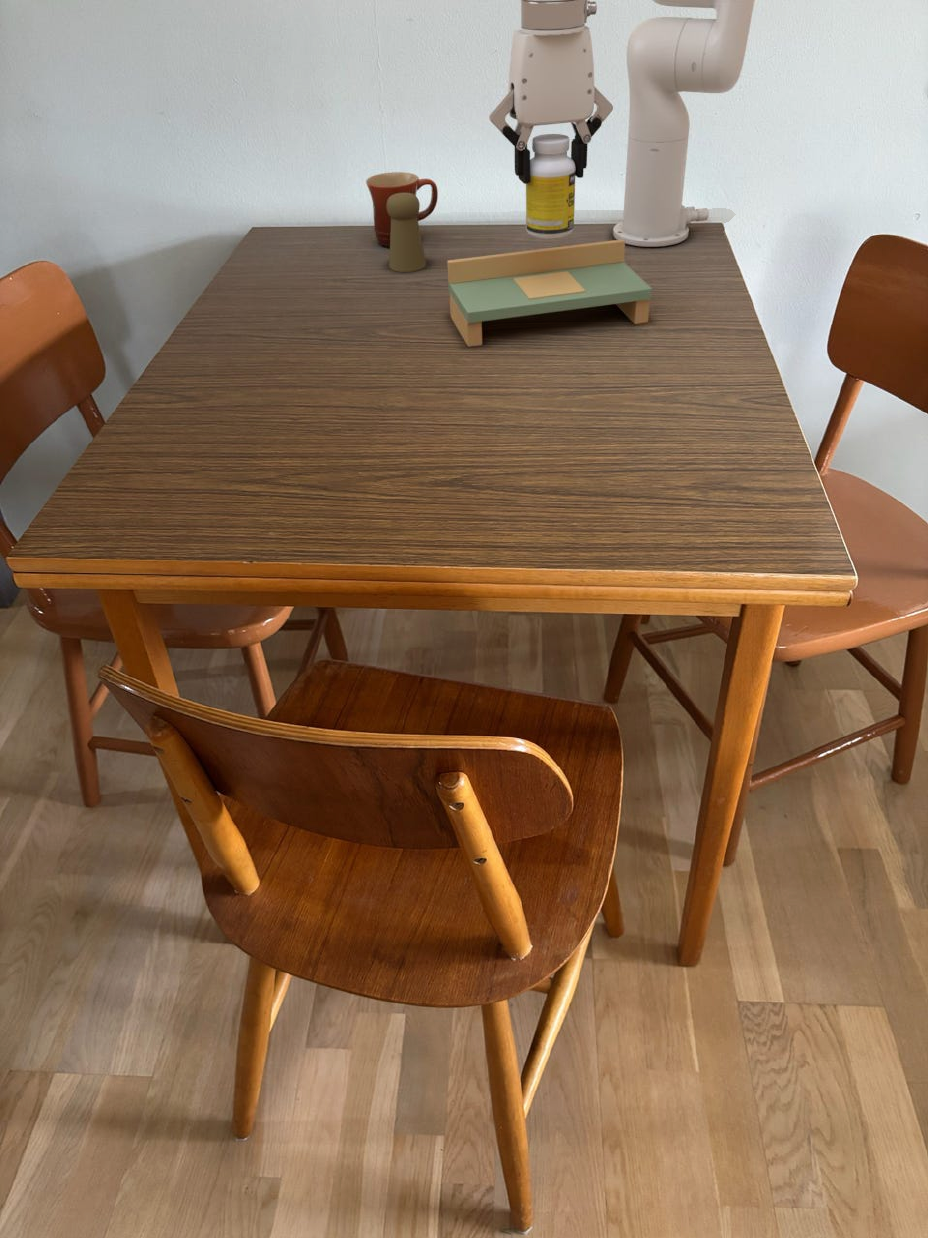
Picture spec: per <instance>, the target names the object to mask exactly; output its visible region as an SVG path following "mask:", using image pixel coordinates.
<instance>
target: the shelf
mask: <svg viewBox="0 0 928 1238" xmlns="http://www.w3.org/2000/svg"><path fill="white" fill-rule="evenodd" d="M625 251H626V244H625V241H624V240H623V239H620V240H617V239H614V240H605V241H597V242H588V243H579V244H572V245H563V246H558V247H557V246H556V247H549V248H538V249H531V250H523V251H514V252H507V253H498V254H490V255H489V254H488V255H482V256H474V257H466V258H457V259H450V260H449V259H448V260H447V261H446V263H447V282H448V284H447V285H448V293H449V309H450V318H451V320H452V321H453V323H454V325H455V328H457V330H458V332H459V334H460V335H461V337H462V339H463V340H464V342H465V344H466V346H467V347H468V348H470V347H478V346H483V327H482V326H483V324H482V323H483V322H488V321H489V322H490V321H497V320H504V319H511V318H519V317H526V316H535V315H541V314H551V313H558V312H565V311H572V310H573V311H574V310H579V309H587V308H595V307H602V306H609V305H616V306H617V308H619V309H620V311H621V312H622V313H623V314H624V315H625V316H626V317H627V318H628V319H629V320H630V321H631V322H632V323H633V324H634V325H640V324H646V323H649V316H650V315H649V314H650V303H651V300H652V298H653V297H652V296H653V288H652V287H651V286H650V285H649V284H648V283H647V282H646V281H645V280H644V279H642V277H641V276H639V275H638V274H637V273H636V272H635V271H634V270H633V269H632V268H630V266H628V264H627V263H625Z"/></svg>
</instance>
